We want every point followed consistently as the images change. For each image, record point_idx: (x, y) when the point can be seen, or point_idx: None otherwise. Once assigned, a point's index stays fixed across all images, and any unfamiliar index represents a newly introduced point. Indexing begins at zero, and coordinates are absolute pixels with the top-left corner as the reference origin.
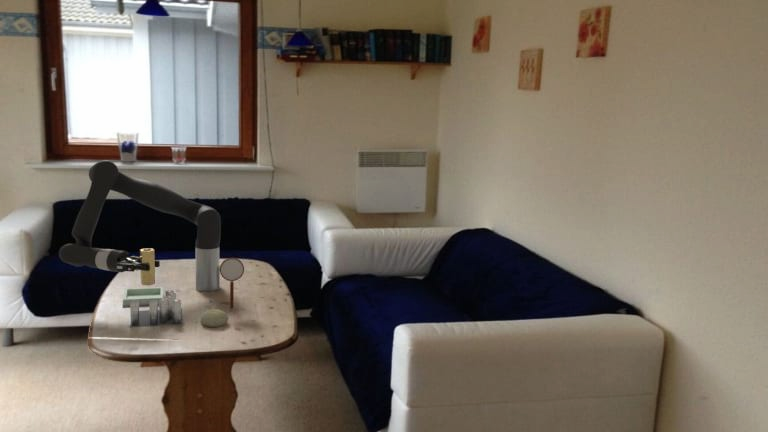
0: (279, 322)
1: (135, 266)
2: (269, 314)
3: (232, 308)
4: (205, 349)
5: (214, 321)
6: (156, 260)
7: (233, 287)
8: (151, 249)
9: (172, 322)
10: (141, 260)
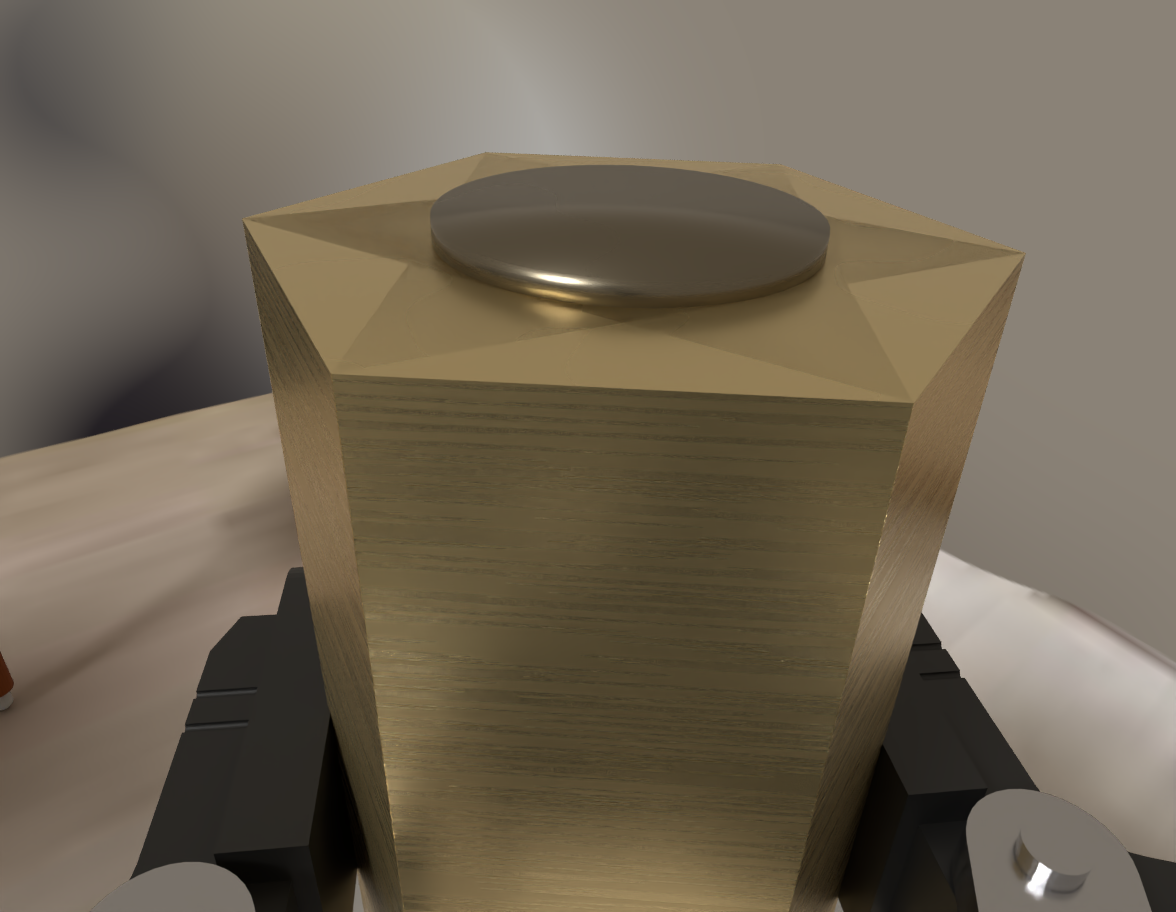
0: (233, 432)
1: (1158, 889)
2: (78, 505)
3: (10, 678)
4: None
5: None
6: (280, 625)
7: None
8: (451, 197)
9: None
10: (876, 724)
